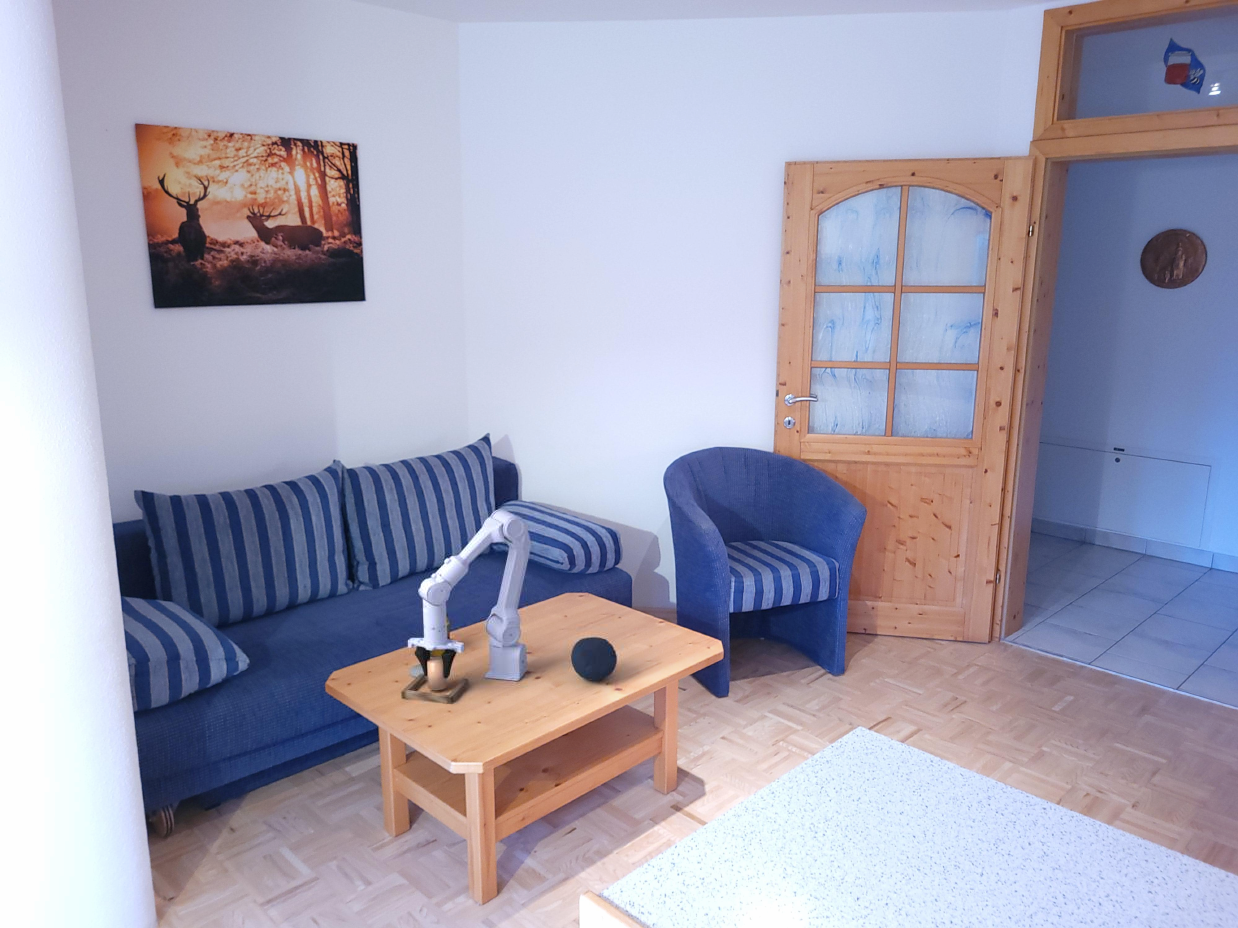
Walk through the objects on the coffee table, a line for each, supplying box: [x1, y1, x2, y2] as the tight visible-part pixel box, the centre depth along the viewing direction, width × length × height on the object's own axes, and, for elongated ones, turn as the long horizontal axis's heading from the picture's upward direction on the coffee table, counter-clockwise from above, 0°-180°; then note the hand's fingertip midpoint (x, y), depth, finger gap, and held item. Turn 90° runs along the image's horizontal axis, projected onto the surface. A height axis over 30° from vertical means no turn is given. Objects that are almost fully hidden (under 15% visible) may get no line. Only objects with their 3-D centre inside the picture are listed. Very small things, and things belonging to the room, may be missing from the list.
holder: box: [400, 674, 470, 705], centre depth 238 cm, size 13×11×2 cm
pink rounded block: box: [427, 657, 448, 691], centre depth 239 cm, size 7×5×7 cm
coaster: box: [408, 663, 428, 679], centre depth 250 cm, size 8×8×1 cm
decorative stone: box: [570, 636, 618, 682], centre depth 246 cm, size 12×12×10 cm
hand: (437, 675), depth 239 cm, fingers closed on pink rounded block, 5 cm apart
